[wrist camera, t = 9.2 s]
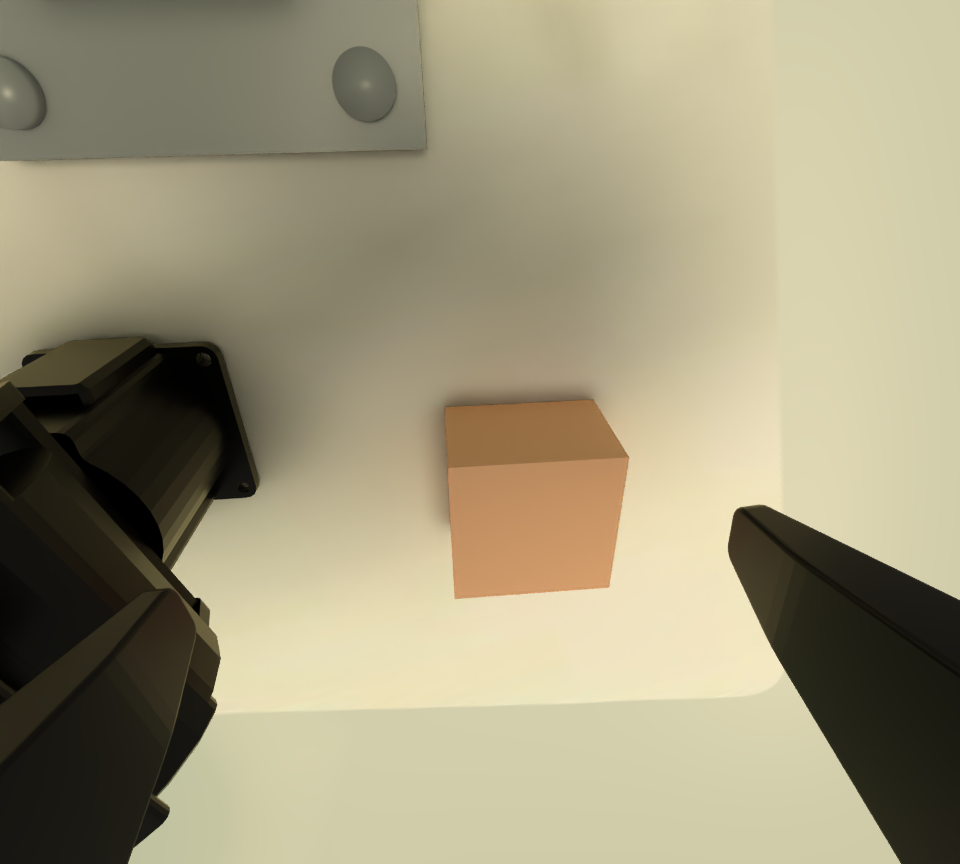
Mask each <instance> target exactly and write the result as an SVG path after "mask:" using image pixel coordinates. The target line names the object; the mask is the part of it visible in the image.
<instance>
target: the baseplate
mask: <svg viewBox="0 0 960 864" xmlns="http://www.w3.org/2000/svg"><path fill="white" fill-rule="evenodd" d="M416 149H427V140H426V125H425V110H424V94H423V79H422V64H421V49H420V33H419V18H418V3H417V0H0V161H18V160H54V159H90V158H126V157H162V156H199V155H235V154H271V153H307V152H343V151H379V150H416Z"/></svg>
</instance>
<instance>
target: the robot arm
mask: <svg viewBox="0 0 960 864" xmlns="http://www.w3.org/2000/svg"><path fill="white" fill-rule="evenodd" d="M200 353H206V354H207V355H209V357H210V358H211V362H206V361H204V360H203V359H202V358H201V356H200ZM22 366H23V367H22V368H20V369H18V370H17V371H15V372H13V373H11V374H10V375H8V376H6V377H4V378H2V379H1V380H0V864H128V862H129V859H130V856H131V853H132V850H133V848H134V847H135V846H136V845H138V844H139V843H140V842H141V841H143V840H144V839H145V838H146V837H147V836H149V835H150V834H151V833H152V832H153V831H154V830H155V829H157V828H158V827H159V826H160V825H161V824H163V822H164V821H165V820H166V819H167V817H168V815H169V812H170V807H169V806H168V805H167V804H166V803H164V802H163V801H162V800H160V799H159V798H158V797H157V796H158V795H159V794H160V793H161V792H162V791H163V790H164V789H165V788H166V787H167V785H169V783H170V782H171V781H172V779H173V778H174V776H175V775H176V774H177V772H178V771H179V769H180V768H181V767H182V765H183V764H184V763H185V761H186V760H187V758H188V757H189V756H190V754H191V753H192V752H193V750H194V749H195V747H196V746H197V745H198V743H199V742H200V740H201V738H202V736H203V734H204V732H205V730H206V729H207V727H208V725H209V723H210V721H211V719H212V717H213V715H214V713H215V711H216V707H217V702H216V700H215V699H214V698H213V697H212V696H211V695H212V692H213V690H214V685H215V681H216V677H217V672H218V668H219V664H220V659H221V657H220V652H219V646H218V640H217V636H216V634H215V633H214V632H213V631H212V630H211V629H210V628H209V617H210V610H209V608H208V607H207V606H206V605H205V604H204V602H203V601H202V600H201V599H200V598H194V597H193V595H192V594H191V593H190V592H189V591H188V590H187V589H186V588H185V586H184V585H183V584H182V583H181V582H180V581H179V580H178V578H177V577H176V576H175V575H174V574H173V573H172V572H171V569H172V568H173V566H174V564H175V563H176V561H177V559H178V558H179V556H180V554H181V553H182V551H183V550H184V548H185V546H186V545H187V543H188V541H189V540H190V538H191V536H192V535H193V533H194V531H195V530H196V528H197V526H198V525H199V523H200V521H201V520H202V518H203V516H204V515H205V513H206V511H207V510H208V508H209V507H210V505H211V503H212V502H213V500H217V499H232V498H247V497H251V496H252V495H254V494H255V492H256V490H257V488H258V486H259V479H258V476H257V472H256V469H255V466H254V462H253V459H252V455H251V452H250V448H249V445H248V441H247V438H246V435H245V431H244V428H243V424H242V421H241V417H240V414H239V411H238V407H237V404H236V400H235V397H234V393H233V390H232V387H231V383H230V380H229V376H228V373H227V369H226V366H225V362H224V359H223V356H222V353H221V351H220V350H219V349H218V348H217V347H216V346H215V345H213V344H211V343H207V342H195V343H174V344H153V342H152V341H150V340H148V339H146V338H144V337H136V338H116V339H95V340H74V341H69V342H67V343H65V344H63V345H62V346H60V347H58V348H56V349H51V350H38V351H34V352H32V353H30V354H29V355H27V356H26V357H24V358H23V361H22ZM241 482H243V483H247V484H248V485H249V486H250V487H245V486H243V485H242V484H241ZM728 553H729V557H730V560H731V562H732V565H733V567H734V569H735V571H736V573H737V575H738V577H739V580H740V582H741V584H742V586H743V588H744V590H745V592H746V595H747V597H748V599H749V601H750V603H751V605H752V607H753V610H754V612H755V614H756V616H757V618H758V620H759V622H760V625H761V627H762V629H763V631H764V633H765V635H766V637H767V639H768V641H769V643H770V645H771V647H772V649H773V651H774V652H775V654H776V656H777V658H778V659H779V661H780V663H781V664H782V666H783V668H784V669H785V671H786V673H787V674H788V676H789V678H790V679H791V681H792V683H793V684H794V686H795V688H796V689H797V691H798V693H799V694H800V696H801V697H802V699H803V701H804V703H805V704H806V706H807V708H808V709H809V711H810V713H811V714H812V716H813V718H814V719H815V721H816V723H817V724H818V726H819V728H820V729H821V731H822V733H823V734H824V736H825V738H826V739H827V741H828V743H829V744H830V746H831V748H832V749H833V751H834V753H835V754H836V756H837V758H838V759H839V761H840V763H841V764H842V766H843V768H844V769H845V771H846V773H847V774H848V776H849V778H850V779H851V781H852V783H853V784H854V786H855V787H856V789H857V791H858V793H859V794H860V796H861V798H862V799H863V801H864V803H865V804H866V806H867V808H868V809H869V811H870V813H871V814H872V816H873V818H874V819H875V821H876V823H877V824H878V826H879V828H880V829H881V831H882V833H883V834H884V836H885V838H886V839H887V840H888V843H889V844H890V846H891V848H892V849H893V851H894V853H895V854H896V856H897V858H898V859H899V861H900V863H901V864H960V600H958V599H956V598H954V597H952V596H950V595H948V594H946V593H944V592H942V591H940V590H938V589H935V588H934V587H932V586H930V585H927V584H925V583H924V582H921V581H919V580H917V579H915V578H913V577H911V576H909V575H907V574H905V573H903V572H901V571H899V570H897V569H895V568H893V567H891V566H889V565H887V564H884V563H883V562H880V561H878V560H876V559H874V558H872V557H870V556H868V555H866V554H864V553H862V552H860V551H858V550H856V549H854V548H852V547H850V546H848V545H845V544H843V543H841V542H839V541H837V540H835V539H833V538H831V537H829V536H827V535H825V534H823V533H821V532H819V531H817V530H815V529H813V528H810V527H809V526H807V525H805V524H802V523H800V522H798V521H796V520H794V519H792V518H790V517H788V516H786V515H784V514H782V513H780V512H778V511H776V510H774V509H772V508H770V507H767V506H765V505H753V506H746V507H740V508H738V509H737V510H736V511H735V512H734V515H733V520H732V526H731V531H730V537H729V542H728Z"/></svg>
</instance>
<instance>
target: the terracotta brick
mask: <svg viewBox="0 0 960 864" xmlns="http://www.w3.org/2000/svg"><path fill="white" fill-rule="evenodd" d="M445 426H446V447H447V469H448V486H449V504H450V522H451V540H452V557H453V575H454V593H455V599H459V598H473V597H486V596H500V595H513V594H527V593H540V592H554V591H567V590H581V589H594V588H608V587H609V584H610V578H611V571H612V565H613V559H614V552H615V546H616V539H617V533H618V526H619V520H620V513H621V507H622V500H623V494H624V487H625V481H626V474H627V468H628V461H629V456H628V455H627V453H626V452H625V450H624V448H623V447H622V445H621V444H620V442H619V440H618V439H617V437H616V436H615V434H614V432H613V431H612V429H611V427H610V426H609V424H608V423H607V421H606V419H605V418H604V416H603V415H602V413H601V411H600V410H599V408H598V406H597V405H596V403H595V402H594V400H575V401H555V402H535V403H515V404H496V405H476V406H456V407H445Z"/></svg>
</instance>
